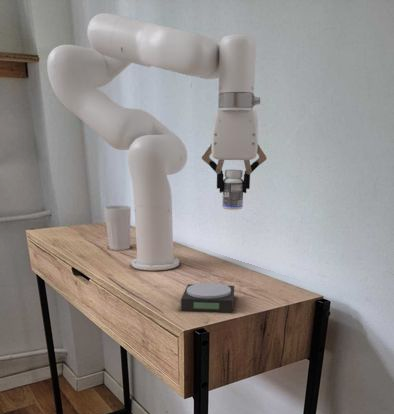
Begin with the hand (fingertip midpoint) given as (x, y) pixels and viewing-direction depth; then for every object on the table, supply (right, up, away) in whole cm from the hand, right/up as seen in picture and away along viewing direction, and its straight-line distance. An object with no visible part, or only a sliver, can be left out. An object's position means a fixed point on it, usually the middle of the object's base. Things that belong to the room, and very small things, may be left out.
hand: (233, 191), depth 111 cm
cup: (-32, -5, +37) cm, 49 cm away
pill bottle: (0, -4, +2) cm, 4 cm away
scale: (-6, -27, -12) cm, 30 cm away
